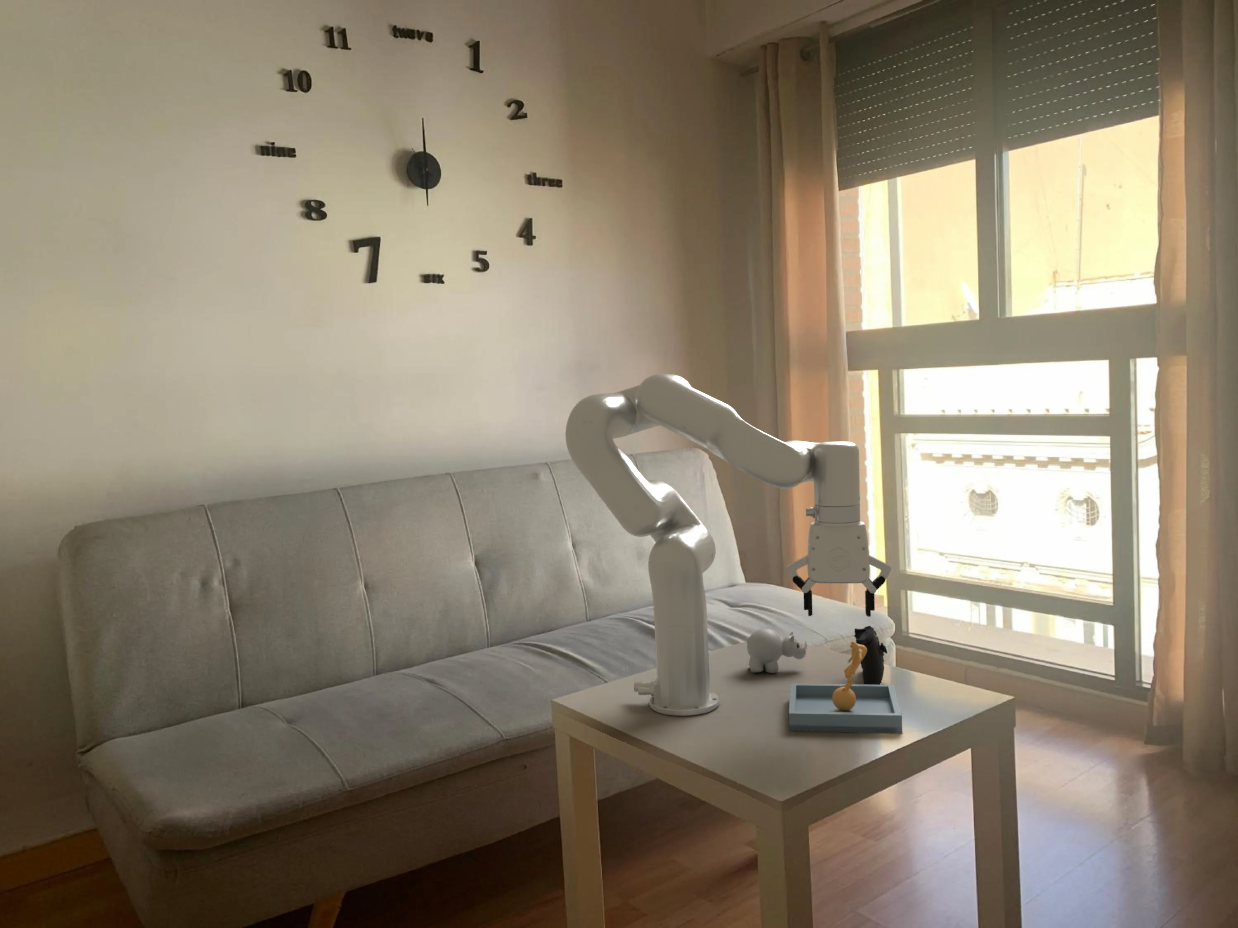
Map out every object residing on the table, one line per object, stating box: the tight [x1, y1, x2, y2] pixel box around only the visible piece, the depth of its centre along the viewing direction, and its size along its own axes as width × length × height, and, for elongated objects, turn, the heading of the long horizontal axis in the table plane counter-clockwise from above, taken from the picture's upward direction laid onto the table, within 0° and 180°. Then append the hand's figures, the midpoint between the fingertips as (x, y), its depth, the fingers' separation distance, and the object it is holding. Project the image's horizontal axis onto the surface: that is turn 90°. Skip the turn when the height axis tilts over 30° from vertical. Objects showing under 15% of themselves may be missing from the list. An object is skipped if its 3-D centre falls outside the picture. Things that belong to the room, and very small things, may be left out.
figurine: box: [832, 641, 867, 711], centre depth 166 cm, size 8×6×12 cm
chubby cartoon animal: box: [746, 627, 808, 674], centre depth 194 cm, size 7×12×8 cm, turn 84°
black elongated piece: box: [853, 625, 888, 685], centre depth 184 cm, size 14×6×10 cm, turn 168°
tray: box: [788, 683, 903, 734], centre depth 166 cm, size 18×16×3 cm
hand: (839, 614), depth 165 cm, fingers open, 9 cm apart
